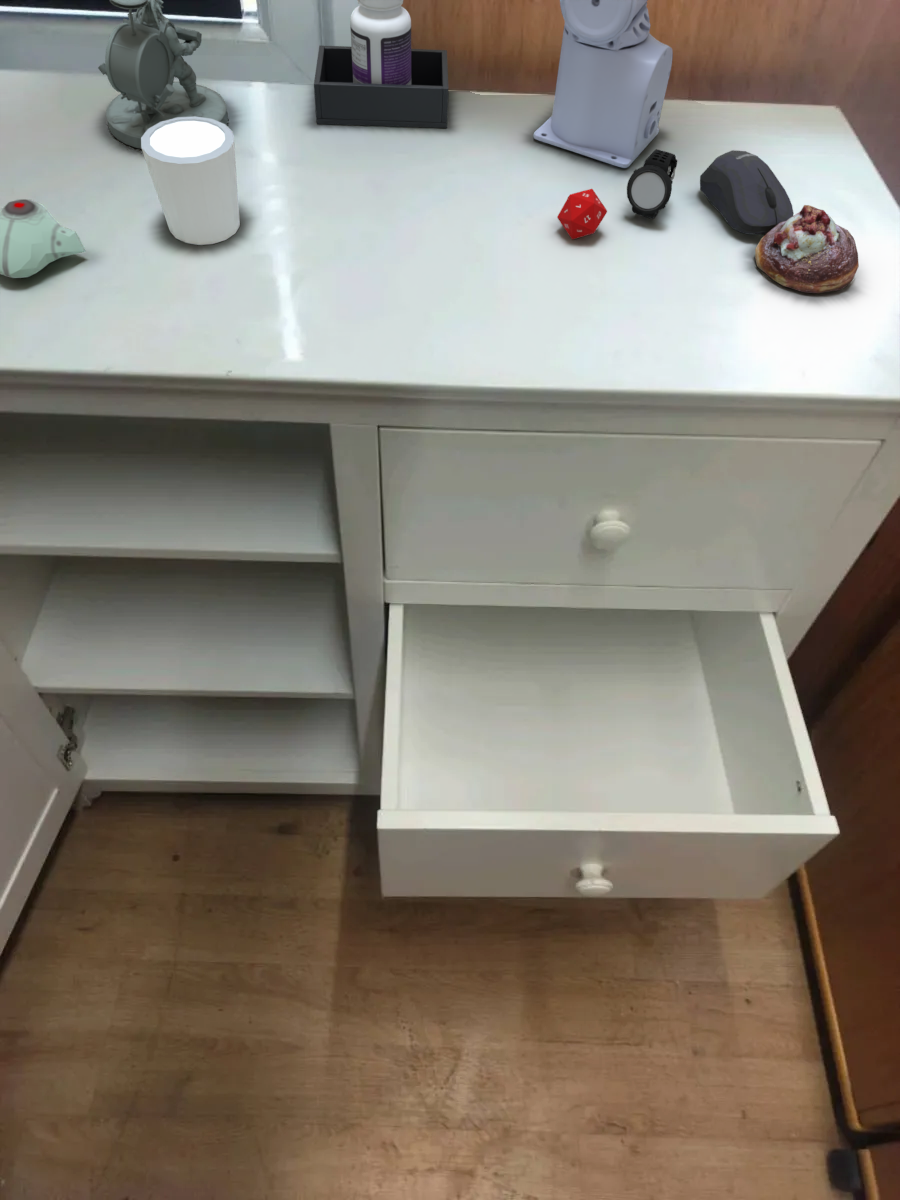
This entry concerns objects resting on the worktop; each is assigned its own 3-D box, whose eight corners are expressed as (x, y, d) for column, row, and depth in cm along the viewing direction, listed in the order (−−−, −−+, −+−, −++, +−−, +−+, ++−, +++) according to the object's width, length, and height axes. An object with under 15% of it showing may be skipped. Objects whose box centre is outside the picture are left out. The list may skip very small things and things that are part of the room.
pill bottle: (414, 89, 85) (415, -28, 77) (407, 117, 82) (407, -2, 74) (358, 84, 85) (353, -33, 77) (349, 112, 82) (343, -8, 74)
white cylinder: (144, 236, 70) (121, 148, 64) (190, 193, 74) (172, 106, 68) (220, 258, 69) (203, 170, 63) (263, 213, 73) (251, 127, 67)
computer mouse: (741, 245, 73) (757, 199, 69) (684, 186, 77) (697, 140, 74) (799, 233, 74) (817, 187, 71) (739, 176, 79) (754, 131, 76)
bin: (445, 88, 86) (447, 49, 83) (446, 128, 82) (448, 88, 79) (322, 84, 86) (319, 45, 83) (316, 124, 81) (313, 84, 79)
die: (546, 208, 73) (567, 185, 69) (581, 199, 74) (604, 176, 70) (560, 250, 73) (583, 230, 69) (595, 240, 74) (619, 220, 70)
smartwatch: (612, 213, 75) (624, 154, 71) (653, 193, 77) (666, 135, 73) (649, 235, 73) (663, 177, 69) (689, 214, 75) (705, 156, 71)
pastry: (737, 267, 71) (758, 208, 67) (778, 228, 75) (800, 170, 71) (830, 308, 68) (857, 250, 64) (867, 266, 72) (895, 208, 68)
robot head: (67, 301, 66) (97, 241, 69) (49, 256, 62) (82, 195, 66) (-38, 285, 66) (-3, 226, 69) (-62, 239, 63) (-24, 179, 66)
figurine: (249, 107, 83) (227, -43, 73) (190, 163, 77) (158, 7, 67) (149, 84, 84) (115, -66, 75) (84, 136, 78) (38, -19, 69)
